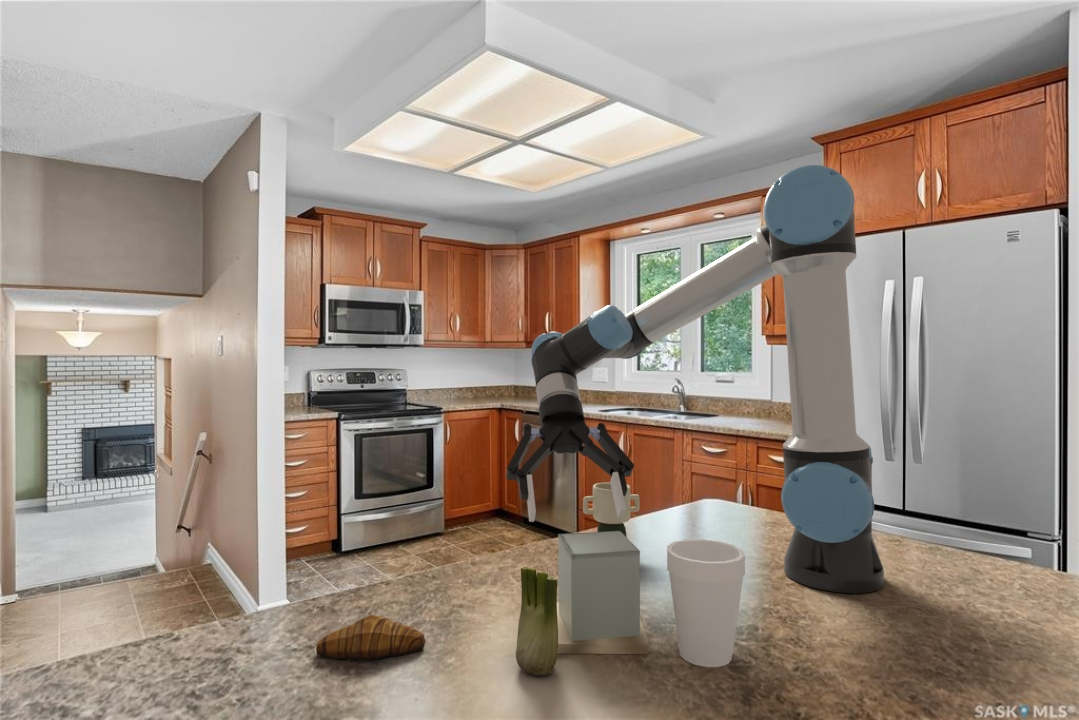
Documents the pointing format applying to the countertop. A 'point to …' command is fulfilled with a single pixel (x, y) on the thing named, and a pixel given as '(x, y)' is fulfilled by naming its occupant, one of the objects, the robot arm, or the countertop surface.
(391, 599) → the countertop surface
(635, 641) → the board
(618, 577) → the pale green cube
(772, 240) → the robot arm
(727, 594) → the foam cup
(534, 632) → the fennel bulb
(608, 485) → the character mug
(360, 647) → the croissant
